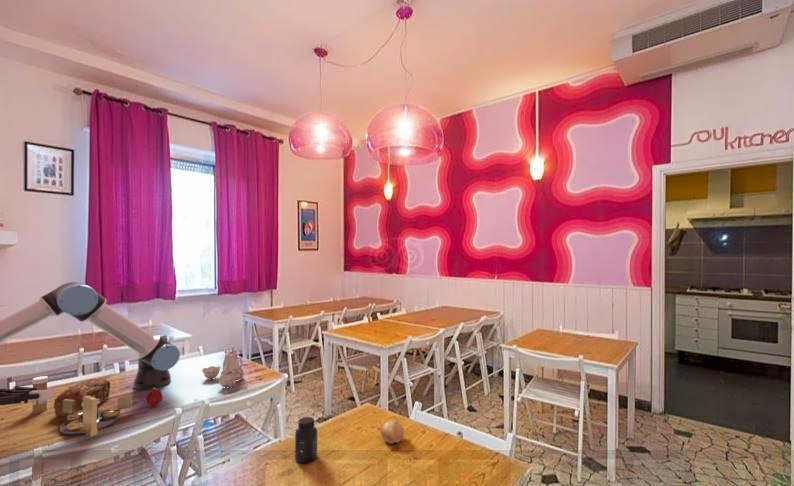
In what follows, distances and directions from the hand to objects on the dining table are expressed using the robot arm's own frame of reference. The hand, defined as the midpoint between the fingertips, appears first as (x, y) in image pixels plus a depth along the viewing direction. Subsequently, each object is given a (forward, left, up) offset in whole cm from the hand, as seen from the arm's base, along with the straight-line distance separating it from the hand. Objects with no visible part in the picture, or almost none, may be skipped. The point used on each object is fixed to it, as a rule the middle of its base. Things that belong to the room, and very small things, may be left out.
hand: (51, 394), depth 129 cm
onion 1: (-29, -15, -16) cm, 37 cm away
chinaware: (-59, -31, -16) cm, 69 cm away
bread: (-5, -30, -16) cm, 34 cm away
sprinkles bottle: (+10, -34, -16) cm, 39 cm away
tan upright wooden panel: (-9, 0, -14) cm, 17 cm away
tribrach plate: (-11, -9, -16) cm, 21 cm away
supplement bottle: (-70, +55, -16) cm, 91 cm away
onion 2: (-99, +60, -16) cm, 117 cm away
